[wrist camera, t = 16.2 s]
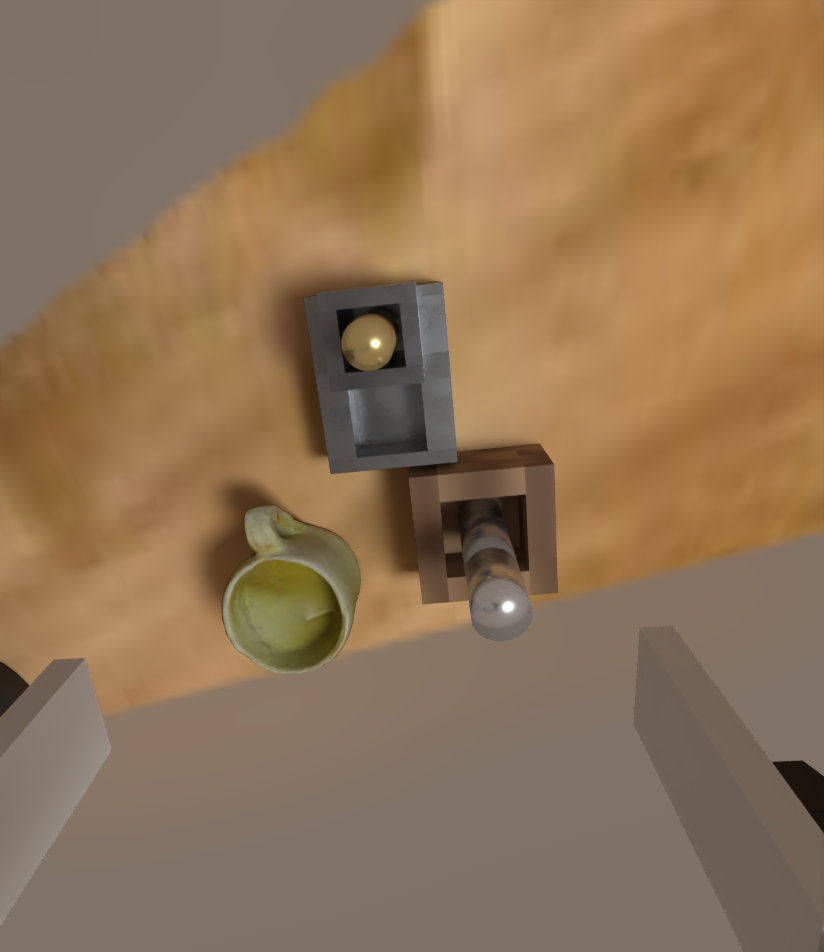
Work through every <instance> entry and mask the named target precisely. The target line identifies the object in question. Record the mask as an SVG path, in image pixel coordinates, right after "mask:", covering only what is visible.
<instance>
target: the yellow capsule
mask: <svg viewBox="0 0 824 952" xmlns="http://www.w3.org/2000/svg"><path fill="white" fill-rule="evenodd" d="M397 338H398V325H397V322H396V320H395V319H394V317H393V316H392V315H391V314H389V313H388V312H386V311H384V310H381V309H371V310H368V311H366V312H364V313H363V314H362V315H361V316H359V317H358V318H357V319H355V320H354V321H353V322H352V323H350V324H349V325H348V326H347V328H346V329H345V331H344V333H343V336H342V341H341V346H342V351H343V354H344V356H345V358H346V360H347V361H348V362H349V363H350V364H351V365H352V366H354V367H355V368H357V369H360V370H363V371H373V370H377V369H379V368H381V367H383V366H384V365H385V364H387V362H388V361H389V360H390V358H391V356H392V354H393V351H394V348H395V345H396V341H397Z"/></svg>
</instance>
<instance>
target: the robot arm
mask: <svg viewBox="0 0 824 952" xmlns="http://www.w3.org/2000/svg"><path fill="white" fill-rule="evenodd" d="M634 726H635V728H636V730H637V732H638V734H639V736H640V738H641V740H642V742H643V744H644V746H645V749H646V751H647V753H648V755H649V757H650V759H651V761H652V763H653V765H654V767H655V769H656V771H657V773H658V776H659V778H660V779H661V781H662V784H663V786H664V788H665V790H666V792H667V794H668V796H669V798H670V800H671V802H672V805H673V806H674V809H675V811H676V813H677V815H678V817H679V819H680V821H681V823H682V825H683V827H684V829H685V831H686V833H687V836H688V837H689V840H690V842H691V844H692V846H693V848H694V850H695V852H696V854H697V856H698V858H699V860H700V862H701V864H702V867H703V869H704V871H705V873H706V875H707V877H708V879H709V881H710V883H711V885H712V887H713V889H714V892H715V894H716V896H717V898H718V900H719V902H720V904H721V906H722V908H723V910H724V912H725V914H726V916H727V919H728V920H729V923H730V925H731V927H732V929H733V931H734V933H735V935H736V937H737V939H738V941H739V943H740V945H741V948H742V949H743V952H824V776H823V775H821V774H820V773H818V772H817V771H816V770H815V769H813V768H812V767H811V766H809V765H808V764H806V763H805V762H804V761H782V762H771V760H770V759H769V758H768V756H767V755H766V753H765V752H764V751H763V749H762V748H761V746H760V745H759V744H758V742H757V741H756V740H755V738H754V737H753V735H752V734H751V733H750V731H749V730H748V729H747V727H746V726H745V724H744V723H743V722H742V720H741V719H740V718H739V716H738V715H737V713H736V712H735V711H734V709H733V708H732V707H731V705H730V704H729V702H728V701H727V700H726V698H725V697H724V696H723V694H722V693H721V691H720V690H719V689H718V687H717V686H716V685H715V683H714V682H713V680H712V679H711V678H710V676H709V675H708V674H707V672H706V671H705V669H704V668H703V667H702V665H701V664H700V662H699V661H698V660H697V658H696V657H695V656H694V654H693V653H692V651H691V650H690V649H689V647H688V646H687V645H686V643H685V642H684V640H683V639H682V638H681V636H680V635H679V634H678V632H677V631H676V629H675V628H674V627H673V626H663V627H662V626H661V627H643V628H640V631H639V647H638V662H637V678H636V692H635V707H634ZM111 750H112V749H111V746H110V742H109V739H108V735H107V732H106V729H105V725H104V721H103V718H102V715H101V711H100V708H99V704H98V701H97V697H96V694H95V690H94V687H93V683H92V680H91V676H90V673H89V670H88V666H87V663H86V659H85V658H79V659H60V660H53V661H52V662H51V663H50V664H49V665H48V667H47V668H46V669H45V670H44V671H43V672H42V673H41V674H40V675H39V676H38V677H37V678H36V679H35V681H34V682H33V683H32V684H31V685H30V686H28V685H27V684H26V683H25V682H24V681H23V680H22V679H21V678H20V677H19V676H18V675H17V674H16V673H14V672H13V671H12V670H10V669H9V668H8V667H6V666H5V665H3V664H1V663H0V926H1V924H2V923H3V921H4V919H5V918H6V916H7V915H8V913H9V912H10V910H11V909H12V907H13V905H14V904H15V902H16V900H17V899H18V897H19V896H20V894H21V893H22V891H23V890H24V888H25V886H26V885H27V883H28V882H29V880H30V878H31V877H32V875H33V874H34V872H35V871H36V869H37V867H38V866H39V864H40V862H41V861H42V860H43V858H44V856H45V855H46V853H47V852H48V850H49V848H50V847H51V845H52V844H53V842H54V840H55V839H56V837H57V836H58V834H59V833H60V831H61V830H62V828H63V826H64V825H65V823H66V822H67V820H68V818H69V817H70V815H71V814H72V812H73V811H74V809H75V807H76V806H77V804H78V803H79V801H80V799H81V798H82V796H83V795H84V793H85V792H86V790H87V788H88V787H89V785H90V784H91V782H92V781H93V779H94V777H95V776H96V774H97V773H98V771H99V769H100V768H101V766H102V765H103V763H104V762H105V760H106V758H107V757H108V755H109V754H110V752H111Z"/></svg>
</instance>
